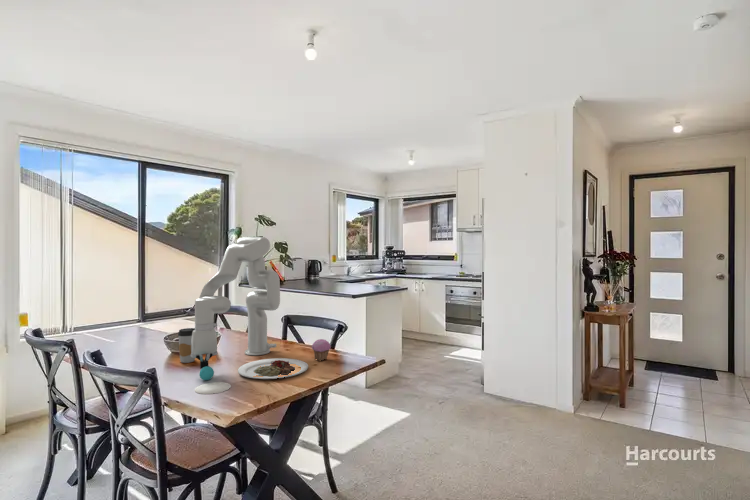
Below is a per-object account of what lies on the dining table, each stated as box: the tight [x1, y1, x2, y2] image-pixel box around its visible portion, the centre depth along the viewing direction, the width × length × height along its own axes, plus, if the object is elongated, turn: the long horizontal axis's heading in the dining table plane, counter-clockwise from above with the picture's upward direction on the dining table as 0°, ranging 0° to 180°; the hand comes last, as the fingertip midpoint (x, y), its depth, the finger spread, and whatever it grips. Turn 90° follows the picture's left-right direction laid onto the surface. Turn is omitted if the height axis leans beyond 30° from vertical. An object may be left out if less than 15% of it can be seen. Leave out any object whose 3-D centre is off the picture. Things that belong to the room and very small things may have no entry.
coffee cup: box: [177, 327, 196, 364], centre depth 199 cm, size 8×8×15 cm
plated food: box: [237, 357, 309, 380], centre depth 184 cm, size 30×30×3 cm
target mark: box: [194, 381, 232, 395], centre depth 161 cm, size 13×13×1 cm
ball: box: [198, 365, 215, 381], centre depth 171 cm, size 6×6×6 cm
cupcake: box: [311, 338, 331, 361], centre depth 202 cm, size 9×9×10 cm
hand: (204, 369), depth 180 cm, fingers closed
